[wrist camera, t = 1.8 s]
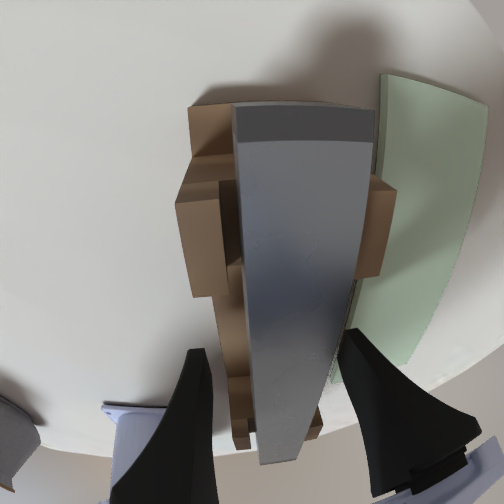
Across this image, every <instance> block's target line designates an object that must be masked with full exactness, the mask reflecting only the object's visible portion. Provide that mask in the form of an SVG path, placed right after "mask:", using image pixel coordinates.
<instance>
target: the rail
mask: <svg viewBox="0 0 504 504" xmlns="http://www.w3.org/2000/svg"><path fill="white" fill-rule="evenodd" d="M231 118H232V135H233V151H234V167H235V183H236V198H237V212H238V227H239V241H240V254H241V268H242V281H243V294H244V307H245V319H246V331H247V343H248V355H249V367H250V378H251V389H252V400H253V411H254V422H255V433H256V442H257V449H258V456H259V463H260V465H266V464H274V463H281V462H287V461H293V460H296V458H297V456H298V454H299V452H300V449H301V447H302V444H303V442H304V440H305V437H306V435H307V432H308V429H309V427H310V424H311V422H312V419H313V416H314V414H315V411H316V408H317V405H318V403H319V400H320V397H321V394H322V391H323V388H324V385H325V382H326V379H327V376H328V373H329V370H330V367H331V363H332V360H333V357H334V353H335V350H336V346H337V343H338V339H339V336H340V332H341V328H342V325H343V321H344V317H345V313H346V309H347V305H348V301H349V296H350V292H351V288H352V283H353V279H354V274H355V269H356V264H357V259H358V254H359V248H360V243H361V237H362V231H363V225H364V219H365V212H366V205H367V198H368V190H369V181H370V172H371V162H372V151H373V137H374V120H375V111H373V110H368V109H363V108H358V107H353V106H347V105H341V104H334V103H320V102H243V103H231Z"/></svg>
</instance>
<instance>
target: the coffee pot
mask: <svg viewBox="0 0 504 504" xmlns="http://www.w3.org/2000/svg"><path fill="white" fill-rule="evenodd" d="M32 422H33V421H32V419H31V418H30V417H29V416H28V415H27V414H26V413H25V412H23V411H22V410H21V409H19V408H18V407H17V406H15V405H14V404H12V403H11V402H9V401H7V400H6V399H4V398H2V397H0V487H2V488H4V489H6V490H9V491H11V492H15V491H14V490H13V488H12V478H13V477H14V475H15V474H16V472H18V470H19V469H20V468H21V466H22V465H23V464H24V463H25V462H26V461H27V459H28V458H29V457H30V456H31V455H32V453H33V452H34V451H35V450H36V449H37V447H38V446H39V445H40V443H41V440H40V436H39V433H38V431H37V429H36V427H35V426H34V425H33V423H32Z"/></svg>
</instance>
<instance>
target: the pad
mask: <svg viewBox="0 0 504 504" xmlns="http://www.w3.org/2000/svg"><path fill="white" fill-rule="evenodd" d="M487 122H488V106H486V105H484V104H482V103H479V102H477V101H474V100H472V99H469V98H467V97H464V96H462V95H459V94H456V93H453V92H450V91H448V90H445V89H442V88H438V87H435V86H432V85H429V84H425V83H422V82H418V81H415V80H411V79H407V78H403V77H399V76H394V75H390V74H381V89H380V120H379V137H378V150H377V160H376V170H375V176H377V177H378V178H380V179H381V180H383V181H384V182H386V183H387V184H389V185H390V186H391V187H393V188H394V189H396V190H397V196H396V202H395V208H394V213H393V218H392V223H391V228H390V233H389V238H388V242H387V247H386V251H385V255H384V259H383V263H382V267H381V271H380V275H379V276H377V277H370V278H363V279H357V283H356V287H355V292H354V296H353V300H352V304H351V308H350V312H349V315H348V319H347V323H346V327H345V330H347V329H352V328H358V329H359V330H360V331H361V332H362V333H363V334H364V335H365V336H366V337H367V338H368V339H369V340H370V341H371V342H372V343H373V345H374V346H375V347H376V348H377V349H378V350H379V351H380V352H381V353H382V354H383V355H384V356H385V357H386V358H387V359H388V360H389V361H390V362H391V363H392V364H393V365H394V366H395V367H397V366H400V365H403V364H406V363H407V362H408V361H409V359H410V357H411V356H412V354H413V352H414V350H415V349H416V347H417V345H418V343H419V341H420V340H421V338H422V336H423V334H424V332H425V330H426V328H427V326H428V324H429V322H430V320H431V318H432V316H433V314H434V312H435V310H436V308H437V306H438V304H439V301H440V299H441V297H442V295H443V292H444V290H445V288H446V285H447V283H448V280H449V278H450V275H451V273H452V270H453V268H454V265H455V262H456V260H457V257H458V254H459V251H460V248H461V245H462V242H463V239H464V236H465V233H466V230H467V226H468V223H469V219H470V216H471V212H472V208H473V205H474V200H475V196H476V192H477V188H478V183H479V178H480V173H481V167H482V162H483V155H484V148H485V141H486V132H487ZM345 330H344V331H345ZM343 335H344V334H343ZM342 338H343V337H342ZM340 345H341V344H340ZM339 348H340V347H339ZM337 355H338V354H337ZM330 380H331V383H332V384H334V383H338V382H343V379H342V377H341V373H340V369H339V365H338V361H337V357H336V360H335V363H334V367H333V370H332V373H331V376H330Z"/></svg>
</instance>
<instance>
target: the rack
mask: <svg viewBox="0 0 504 504" xmlns="http://www.w3.org/2000/svg"><path fill="white" fill-rule="evenodd" d="M252 102H311V101H252ZM233 103H243V102H233ZM320 103H327V102H320ZM188 120H189V130H190V141H191V150H192V159H191V162H190V164H189V167H188V169H187V172H186V174H185V177H184V180H183V182H182V185H181V187H180V190H179V193H178V196H177V198H176V201H175V209H176V215H177V221H178V226H179V232H180V237H181V242H182V248H183V253H184V258H185V263H186V267H187V272H188V277H189V282H190V286H191V291H192V295H193V298H196V297H208V296H212V300H213V306H214V312H215V317H216V323H217V328H218V333H219V338H220V344H221V349H222V354H223V359H224V364H225V368H226V373H227V378H228V391H229V404H230V416H231V427H232V438H233V441H234V444H235V447H236V450H246V449H251V443H250V436H249V433H251V432H255V422H254V411H253V400H252V389H251V378H250V367H249V355H248V343H247V331H246V319H245V307H244V294H243V281H242V268H241V254H240V241H239V227H238V212H237V198H236V183H235V167H234V151H233V135H232V118H231V103H220V104H209V105H199V106H191V107H188ZM396 196H397V190H396V189H394V188H393V187H391V186H390V185H389V184H387V183H386V182H384V181H383V180H381V179H380V178H378V177H377V176H375V175H373V174H372V173H370V181H369V190H368V198H367V205H366V212H365V219H364V225H363V231H362V237H361V243H360V248H359V254H358V259H357V264H356V269H355V274H354V279H353V280H357V279H363V278H370V277H377V276H379V275H380V271H381V267H382V263H383V259H384V255H385V251H386V247H387V242H388V238H389V233H390V228H391V223H392V218H393V213H394V208H395V202H396ZM322 427H323V422H322V418H321V415H320V411H319V407H318V405H317V408H316V411H315V414H314V416H313V419H312V422H311V424H310V427H309V429H308V432H307V435H306V437H305V440H304V441H307V440H312V439H316V438H317V437H318V435H319V433H320V431H321V429H322Z"/></svg>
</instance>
